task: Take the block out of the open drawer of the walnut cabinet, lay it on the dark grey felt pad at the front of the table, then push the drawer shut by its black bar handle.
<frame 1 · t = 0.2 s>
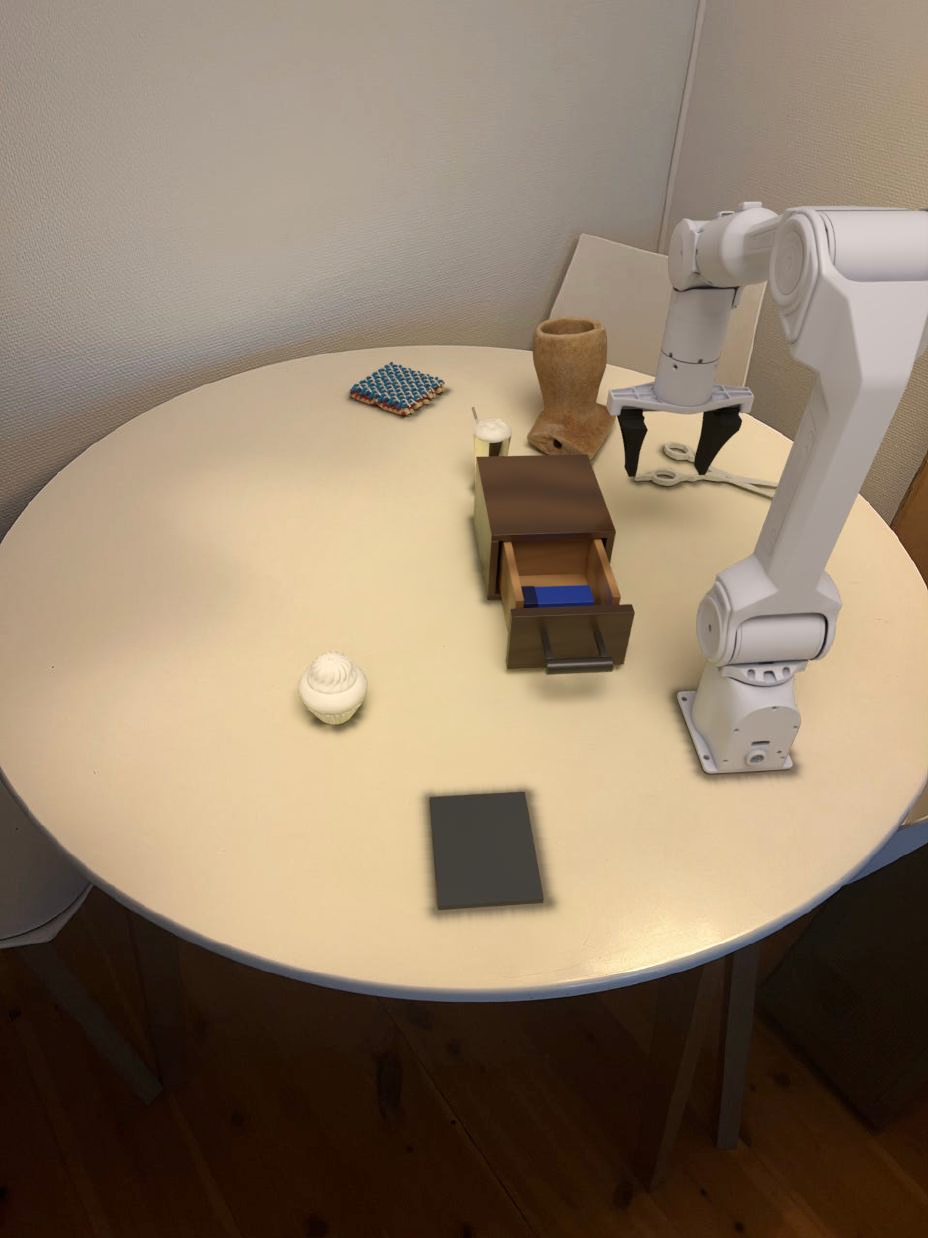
hand: (664, 471, 94), 10 cm above the table, tool pointing down, fingers open, 7 cm apart
scissors: (721, 481, 112), on the table
woven mat: (398, 396, 126), on the table
milkshake: (486, 488, 109), on the table
desk pad: (483, 849, 70), on the table
block: (555, 613, 89), point 2 cm above the table, touching drawer
cabinet: (535, 556, 99), on the table
drawer: (561, 610, 86), point 4 cm above the table, slide at 10.0 cm, touching block
stone cup: (564, 436, 119), on the table
muffin: (335, 713, 81), on the table
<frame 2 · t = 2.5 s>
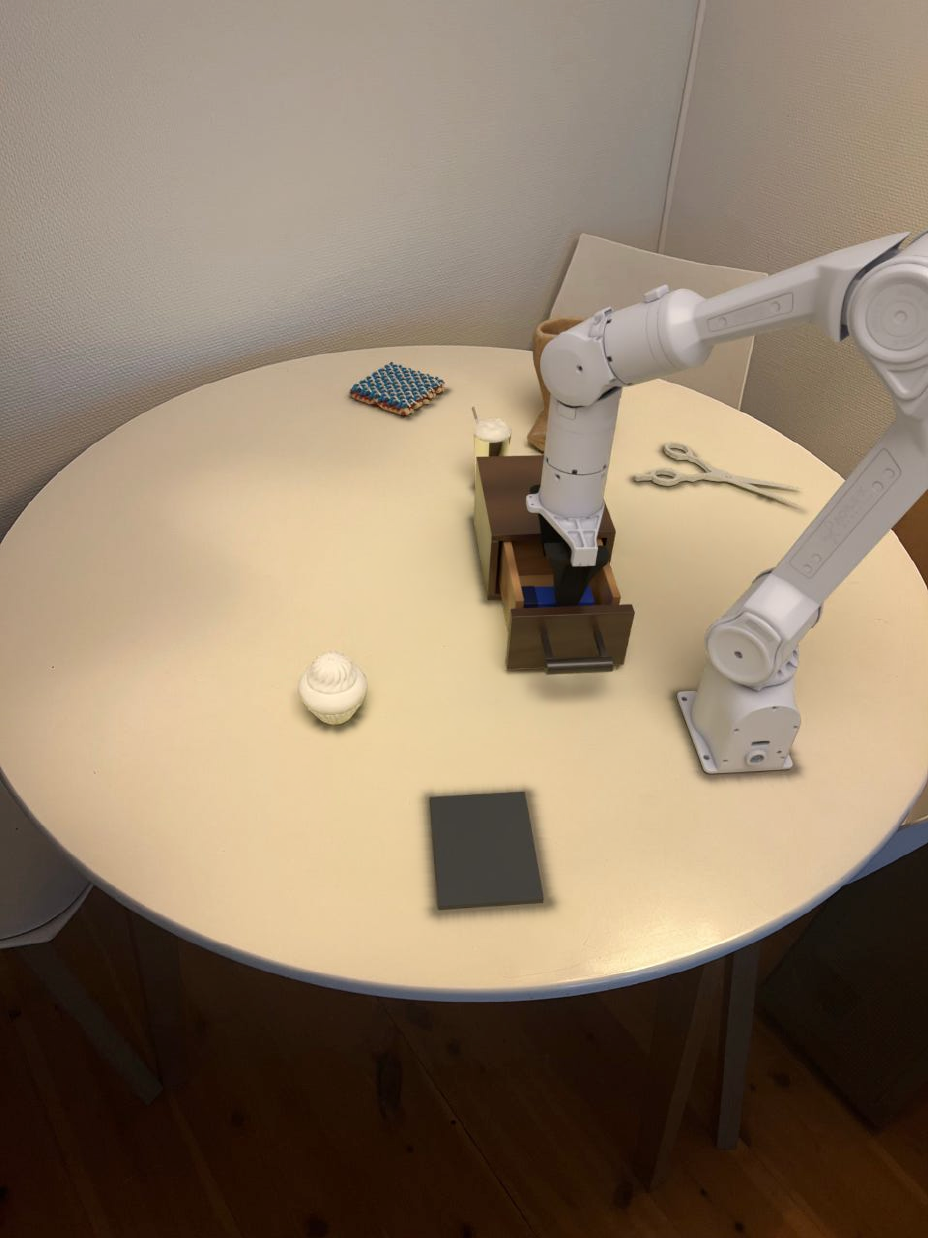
hand: (560, 578, 86), 7 cm above the table, tool pointing down, fingers open, 7 cm apart
nothing on the table moved.
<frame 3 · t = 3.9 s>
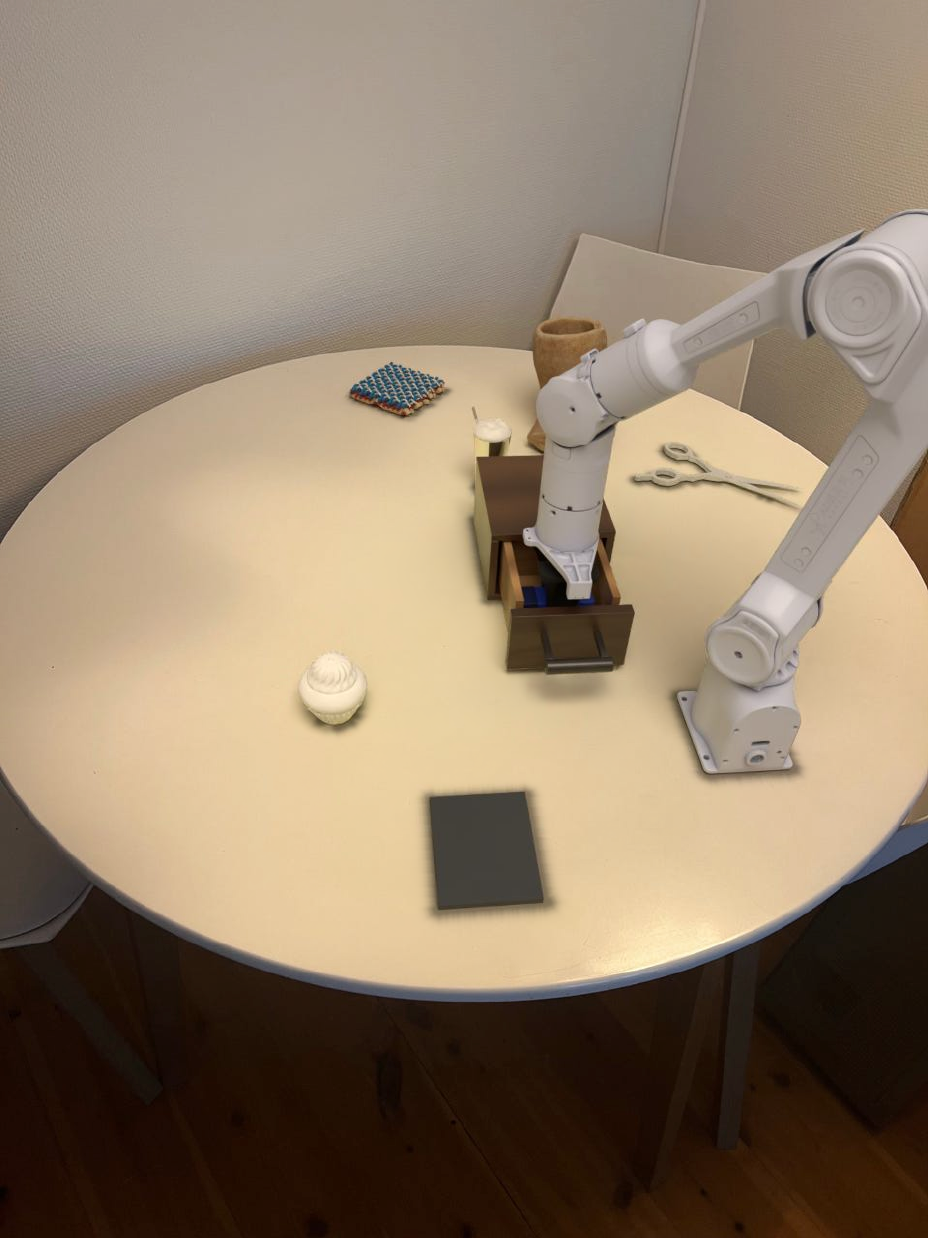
hand: (556, 607, 88), 3 cm above the table, tool pointing down, fingers closed on block, 2 cm apart
block: (555, 614, 89), point 2 cm above the table, touching drawer, gripper
everything else where it was.
when the fingers open (1 cm above the table, at t = 10.6 s): block stays where it is, resting on desk pad.
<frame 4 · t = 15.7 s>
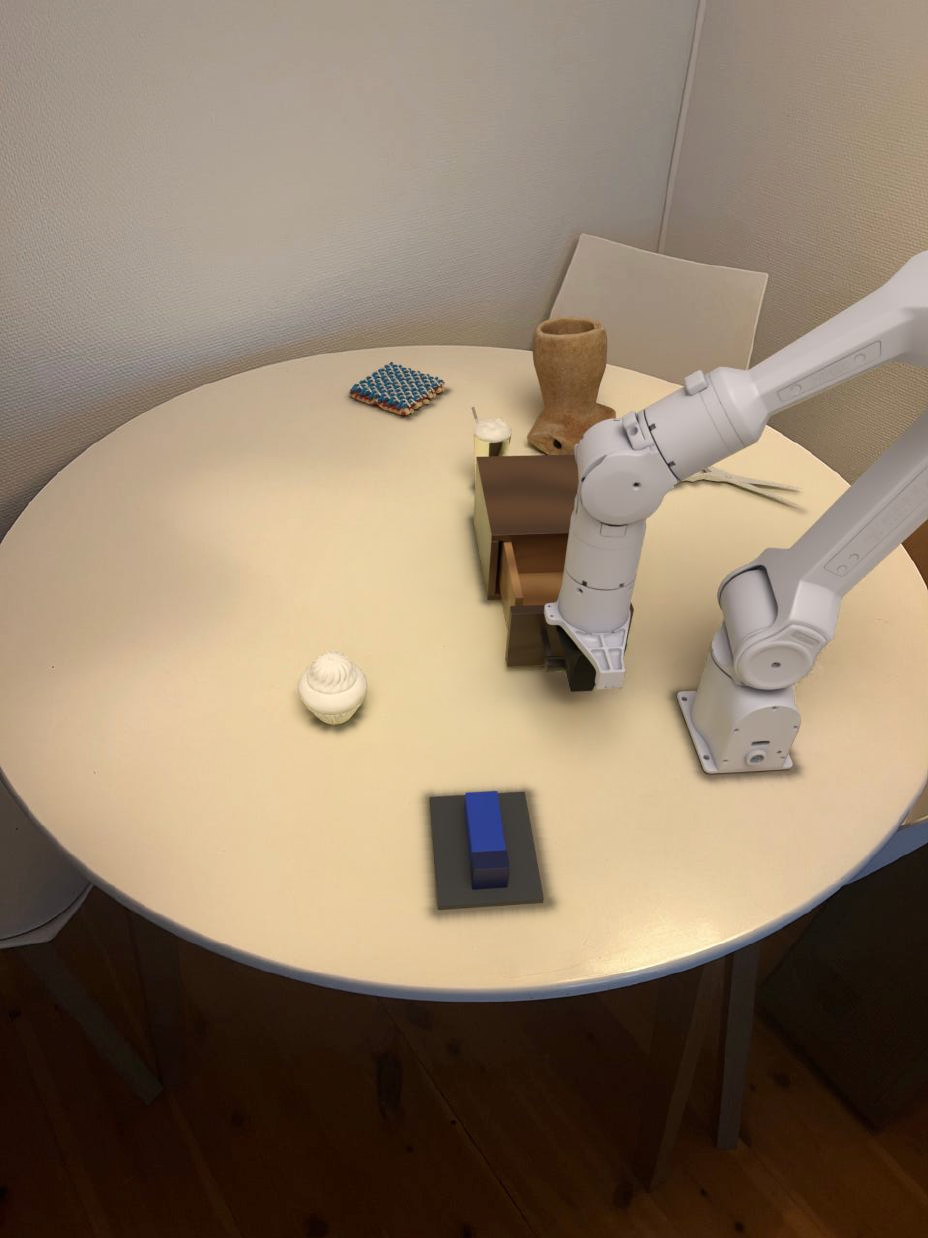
hand: (580, 686, 79), 4 cm above the table, tool pointing down, fingers closed
block: (484, 846, 70), point 1 cm above the table, touching desk pad
drawer: (560, 608, 86), point 4 cm above the table, slide at 9.6 cm, touching gripper
everything else where it was.
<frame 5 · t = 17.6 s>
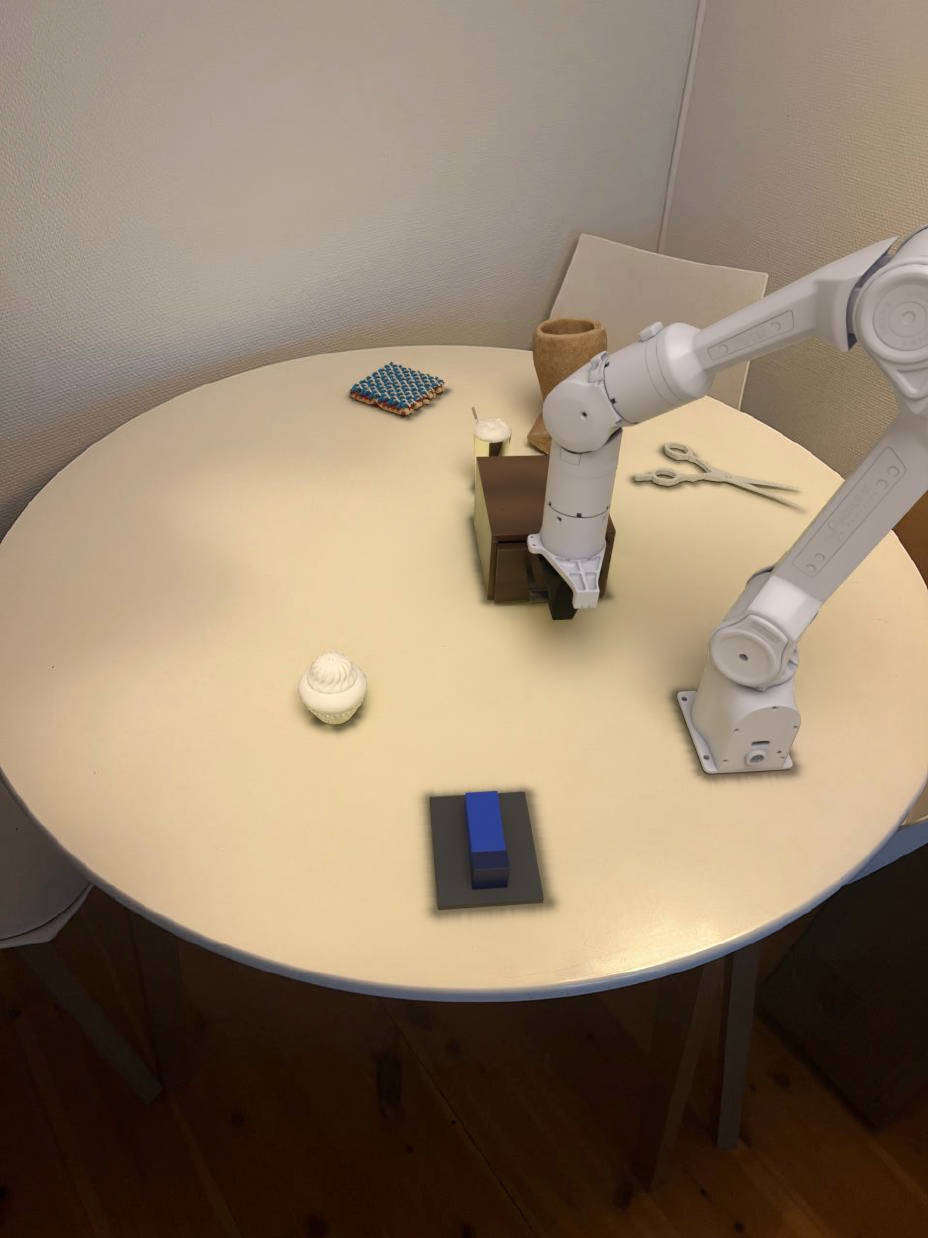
hand: (561, 615, 86), 4 cm above the table, tool pointing down, fingers closed, pressing on drawer
drawer: (545, 548, 93), point 4 cm above the table, slide at 0.1 cm, touching gripper
everything else where it was.
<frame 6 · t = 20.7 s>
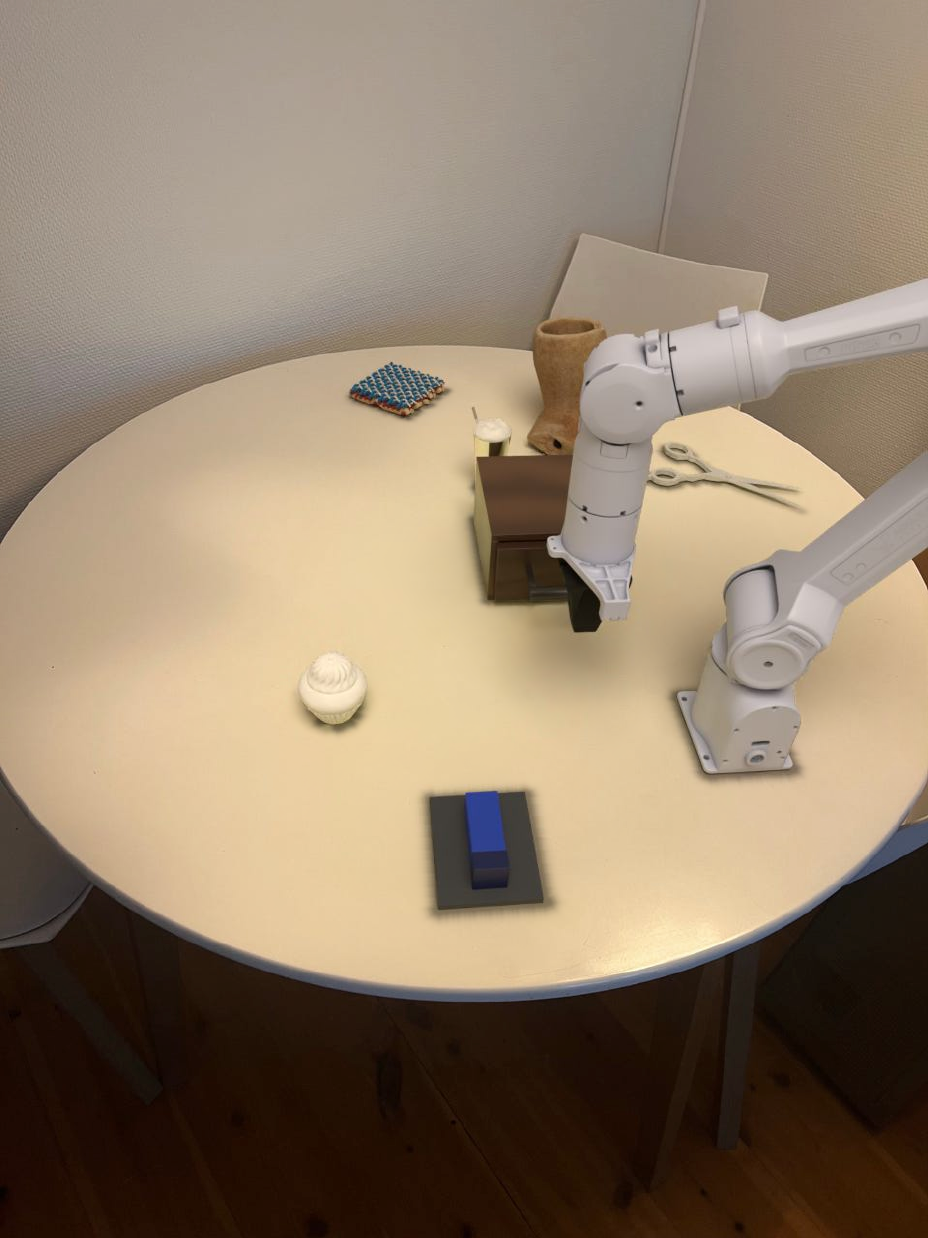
hand: (583, 626, 77), 9 cm above the table, tool pointing down, fingers closed
drawer: (545, 547, 93), point 4 cm above the table, slide at 0.0 cm
everything else where it was.
at the end: block inside the target area on the desk pad (0.1 cm from its centre), point 0.6 cm above the desk pad's base; the gripper is holding nothing; drawer slide at 0.0 cm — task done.
